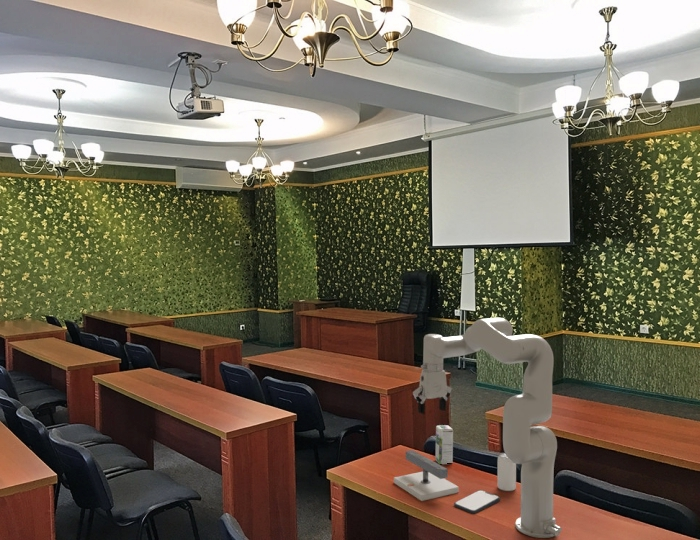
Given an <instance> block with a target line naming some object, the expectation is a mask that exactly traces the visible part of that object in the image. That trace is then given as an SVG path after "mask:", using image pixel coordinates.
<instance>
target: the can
mask: <svg viewBox="0 0 700 540" xmlns="http://www.w3.org/2000/svg"><path fill="white" fill-rule="evenodd" d="M497 488H498V489H499V490H500V491H504V492H513V491H515V490H516V488H517V464H516V463H513V462H511V461H510V460H509V459H508V457H507V456H506V454H505V452H501V453H498V457H497Z"/></svg>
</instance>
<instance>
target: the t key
mask: <svg viewBox="0 0 700 540" xmlns="http://www.w3.org/2000/svg"><path fill="white" fill-rule="evenodd" d="M405 460H407V461H408V462H410V463H412V464H413V465H415V466H417V467H419V468H421V469H422V472H423V482H425V483H427V482H428V472H429V473H431V474H433V475H434V476H436V477H438V478H440V479H443V478H444V479H446V478H447V479H448V477H449V476H448V474H449V473H448V471H449V470H448V468H446V467H445V466H443V465H440V464H439V463H438V462H437V461H433V460H432V459H430V458H428V457H427V456H424V455H422V454H420V453H418V452H416V451H415V450H413V449H410V450H405Z"/></svg>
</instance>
